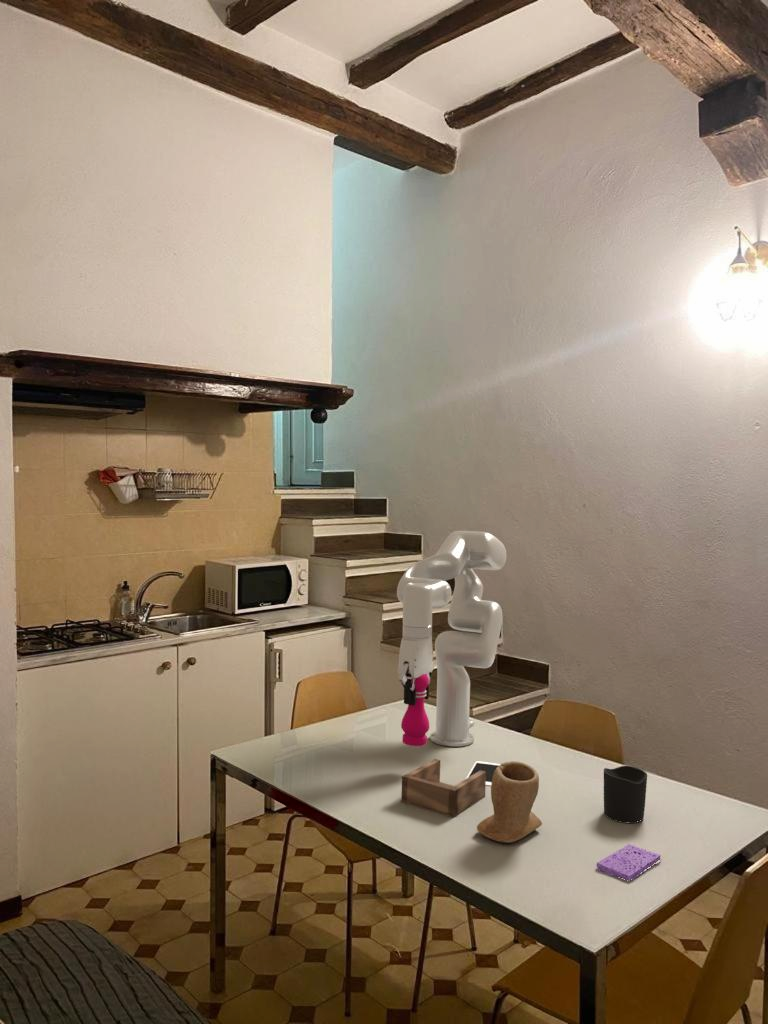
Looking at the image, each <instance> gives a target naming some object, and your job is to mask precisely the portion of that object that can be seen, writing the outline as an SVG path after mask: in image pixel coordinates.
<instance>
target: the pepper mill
mask: <svg viewBox="0 0 768 1024" xmlns="http://www.w3.org/2000/svg"><path fill="white" fill-rule="evenodd" d="M408 677H411V675H410V674H409V676H408ZM408 681H409V682H410V683H411V681H412V680H411V679H408ZM428 685H429V686H430V683H429V678H428V676H427V674H423V675H422V676H420V677H418V678H416V682H415V687H414V690H416V704H415V705H414V706H412V705H408V704H407V708H406V711H405V713H404V714H403V716H402V720H401V725H400V726H401V730H402V731H403V734H402V743H403V744H404V745H407V746H411V747H421V746H426V745H427V743H428V735H427V733H428V731H429V730H430V720H429V717H428V714H427V712H426V709H425V699H424V698H425V696H426V692H427V691H426V690H425V689H426V688H427V686H428Z"/></svg>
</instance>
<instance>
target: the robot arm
mask: <svg viewBox="0 0 768 1024" xmlns="http://www.w3.org/2000/svg"><path fill="white" fill-rule="evenodd" d="M506 561H507V549H506V547H505V545H504V543H503V542H502V541H501V540H499V539H498V538H497V537H496V536H494V535H493V534H491V533H489V532H486V531H477V530H476V531H474V530H473V531H472V530H455V531H453V532H451V533H450V534H448V535H447V537H446V538H445V540H444V542H443V543H442V544H441V546H440V547H439V549H438V550H437V551H436V553H435V554H434V555H431V556H429V557H427V558H424V559H421V560H420V561H418V562H415V563H413V564H411V565H410V566H409V567H408V568H407V569H406V571H405V572H404V573H403V575H402V576H401V578H400V580H399V581H398V584H397V587H396V596H397V599H398V601H399V602H400V603H401V604H402V638H401V641H400V646H399V653H398V654H399V655H398V667H397V668H398V669H397V671H398V681H399V682H400V684H401V685H402V689H403V703H404V704H405V705H407V706H408V705H412V706H414V705H415V704H416V690H414V687H415V682H416V678H418V677H420V676H422V675H423V674H427V676H428V678H429V685H428V686H427V688H426V689H425V690H426V691H427V692H426V696H425V698H424V700H429V698H430V694H429V693H430V683H431V676H432V672H433V670H434V669H435V668H434V667H435V666H434V653H435V659H436V660H435V661H436V671H437V673H436V677H437V679H436V681H437V682H436V705H435V706H436V712H435V713H436V714H435V715H436V717H435V731H432V732H431V733H430V737H429V739H430V740H431V742H432V743H434V744H437V745H440V746H444V747H466V746H469V745H472V743H474V740H475V739H474V738H475V737H474V735H473V734H471V733H470V731H469V730H470V729H471V728H473V727H474V725H475V722H474V721H473V720H470V700H471V698H470V697H471V680H470V675H469V674H468V671H467V670H466V669H465V667H469V668H476V669H477V668H478V669H488V668H490V667H492V665H493V663H494V661H495V659H496V654H497V650H498V645H499V639H500V634H501V630H502V626H503V610H502V607H501V606H500V604H499V603H498V602H495V601H493V600H484V599H482V597H483V592H484V585H483V583H482V581H481V579H480V578H479V576H478V575H477V574H476V573H475V572H474V570H486V571H499V570H501V569H502V568H504V566H505V564H506ZM452 579H454V589H453V593H452V588H451V585H450V584H449V583H448V582H447V581H449V580H452ZM449 603H450V605H449V606H450V607H449V609H448V615H447V623H448V625H449V626H450V627H451V628H452V629H454V630H455V631H454V630H447V631H446V630H445V631H443V632H440V633H438V635H437V637H436V639H435V641H434V645H433V610H436V609H442V608H445V607H446V606H447V605H448V604H449ZM433 646H434V648H433ZM433 649H434V650H435V651H434V650H433ZM409 674H410V675H411V677H408V676H409ZM408 679H411V680H412V681H411V683H410V682H409V681H408Z"/></svg>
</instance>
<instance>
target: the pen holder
mask: <svg viewBox="0 0 768 1024" xmlns="http://www.w3.org/2000/svg"><path fill="white" fill-rule="evenodd" d="M647 783H648V773H647V772H646V771H644V770H643V769H641V768H638V767H635V766H631V765H621V766H619V767H614V768H607V767H605V768H603V813H604V814H605V816H606V815H607V816H608V817H609V818H608V817H607V816H606V817H607V818H608V819H610V818H611V819H610V820H612V819H613V821H614V820H617V821H616V822H618V821H621V822H620V823H622V822H637V821H640V820H641V821H643V820H644V817H645V808H646V797H647V795H646V794H647ZM641 821H640V822H641ZM637 823H638V822H637Z"/></svg>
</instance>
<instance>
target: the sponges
mask: <svg viewBox="0 0 768 1024" xmlns="http://www.w3.org/2000/svg"><path fill="white" fill-rule="evenodd" d="M661 856H662V855H661V854H659V853H656V852H654V851H650V850H648V851H647V850H646V849H643V848H640V847H638V846H636V845H633V844H630V843H627V845H625V846H623V847H622V848H621V849H618V850H616V851H615V852H613V853H611V854H609V855H607V856H605V857H604V858H602V859H601V860H598V861H596V868H597V869H599V871H600V870H601V871H600V872H603V873H605V872H606V874H608V873H609V875H611V874H612V875H611V876H613V875H615V876H614V877H616V878H618V877H620V878H619V879H621V878H623V879H625V880H624V881H626V880H628V881H630V880H631V879H633V878H634V877H636V876H637V875H639V874H640V873H641V872H643V871H644V870H645V869H647V868H648V867H650V866H652V865H653V864H654V863H656V862H657V861H658V860H660V861H661ZM640 875H641V874H640ZM640 875H639V876H640ZM637 877H638V876H637ZM637 877H636V878H637ZM623 879H622V880H623ZM634 879H635V878H634ZM634 879H633V880H634ZM628 881H627V882H628ZM631 881H632V880H631ZM631 881H630V882H631Z"/></svg>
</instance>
